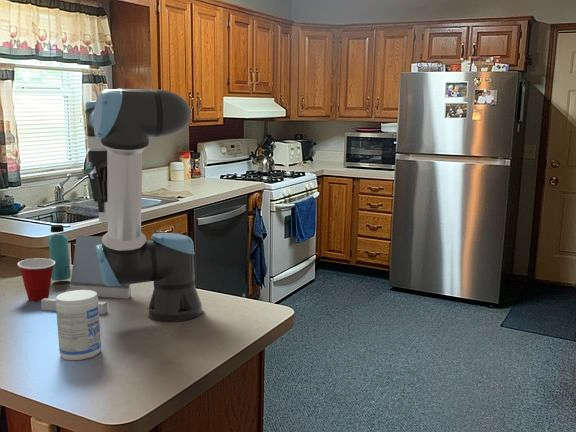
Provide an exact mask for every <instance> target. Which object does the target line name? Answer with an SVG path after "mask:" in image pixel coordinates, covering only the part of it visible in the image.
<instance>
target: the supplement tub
mask: <svg viewBox="0 0 576 432" xmlns="http://www.w3.org/2000/svg"><path fill="white" fill-rule="evenodd" d="M55 297H56V298H55V299H56V311H55V313H56V322H57V335H58V347H59V348H58V349H59V355H60V356H61V358H62V359H64V360H68V361H81V360H87V359H90V358H93V357H95V356H97V355H98V354H99V353H100V352H101V349H102V342H101V341H102V339H101V326H100V314H99V305H98V302H99V297H98V296H97V293H96V292H95V291H91V290H75V291H70V290H69V291H65V292H62V293H60V294H58V295H57V296H55Z"/></svg>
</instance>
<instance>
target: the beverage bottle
mask: <svg viewBox="0 0 576 432" xmlns="http://www.w3.org/2000/svg"><path fill="white" fill-rule="evenodd" d="M64 231H65V229H64V225H63V224H53V225H51V226H50V233H56V234H51V235H50V236H49V237H48V239H47V241H48V250H49V251H48V252H49V259H51V260H54V261H55V265H54V266H53V270H52V275H51V281H57V282H58V281H59V282H60V281H66V280H69V279H71V276H72V274H71V273H72V269H71V264H70V253H69V252H70V251H69V249H70V248H69V240H68V239H69V238H68V236H67V235H66V234H63V233H62V232H64Z"/></svg>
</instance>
